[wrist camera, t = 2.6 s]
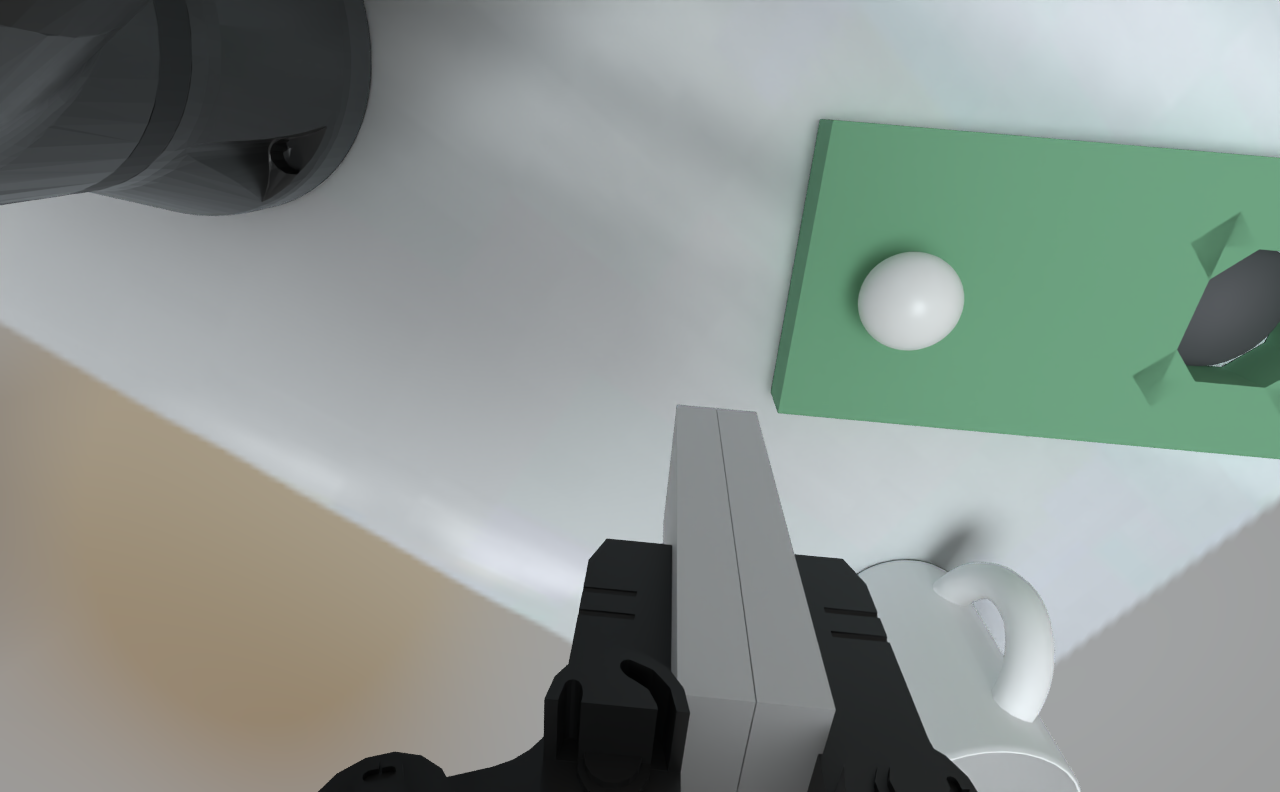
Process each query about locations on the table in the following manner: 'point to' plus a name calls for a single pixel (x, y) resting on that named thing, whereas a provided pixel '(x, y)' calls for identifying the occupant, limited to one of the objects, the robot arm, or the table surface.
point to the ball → (911, 301)
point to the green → (1044, 288)
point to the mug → (975, 669)
